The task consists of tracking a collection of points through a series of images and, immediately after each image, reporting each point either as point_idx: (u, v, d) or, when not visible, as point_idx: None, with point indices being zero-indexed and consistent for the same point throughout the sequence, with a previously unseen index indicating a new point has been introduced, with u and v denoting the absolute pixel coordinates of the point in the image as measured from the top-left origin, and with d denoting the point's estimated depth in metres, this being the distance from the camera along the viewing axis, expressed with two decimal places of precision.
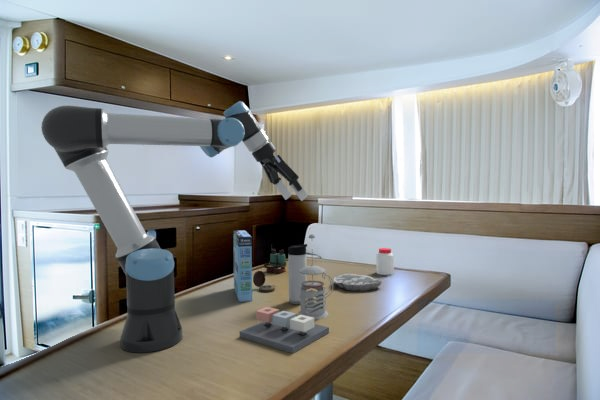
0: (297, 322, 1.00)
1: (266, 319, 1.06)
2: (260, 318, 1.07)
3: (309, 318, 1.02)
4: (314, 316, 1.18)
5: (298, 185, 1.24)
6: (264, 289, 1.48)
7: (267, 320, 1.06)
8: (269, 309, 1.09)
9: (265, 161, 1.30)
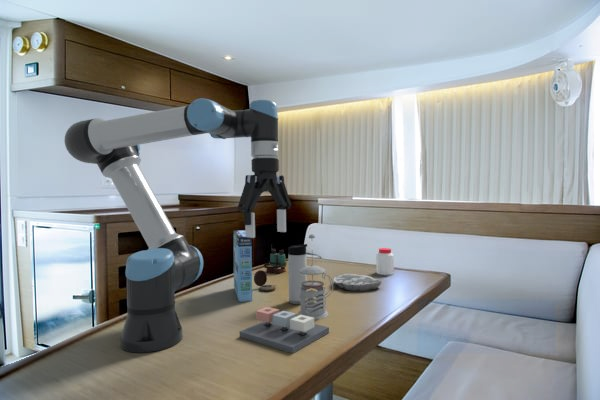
0: (297, 322, 1.00)
1: (266, 319, 1.06)
2: (260, 318, 1.07)
3: (309, 318, 1.02)
4: (314, 316, 1.18)
5: (246, 218, 1.02)
6: (264, 289, 1.49)
7: (267, 320, 1.06)
8: (269, 309, 1.09)
9: None
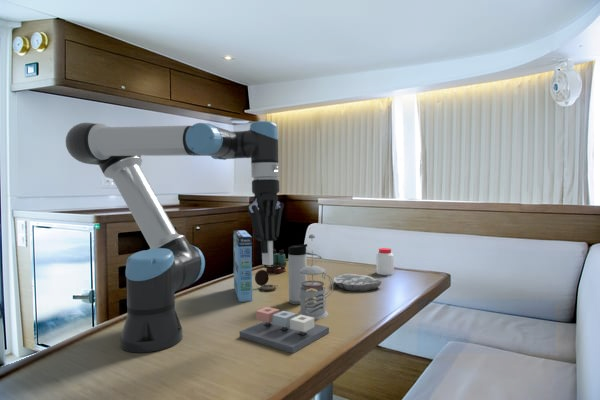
0: (297, 322, 1.00)
1: (266, 319, 1.06)
2: (260, 318, 1.07)
3: (309, 318, 1.02)
4: (314, 316, 1.18)
5: (263, 247, 1.06)
6: (264, 288, 1.49)
7: (267, 320, 1.06)
8: (269, 309, 1.09)
9: None
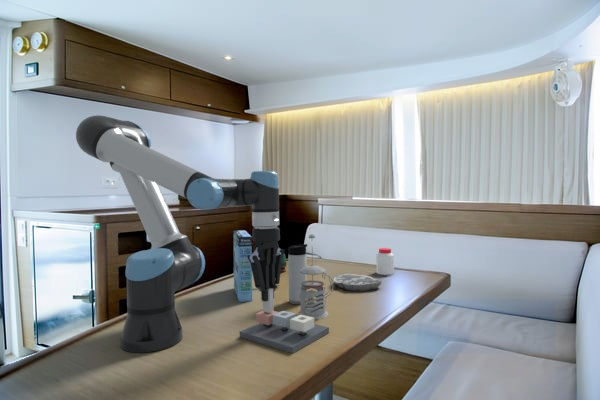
0: (297, 322, 1.00)
1: (266, 321, 1.06)
2: (260, 320, 1.07)
3: (309, 318, 1.02)
4: (314, 316, 1.18)
5: (263, 295, 1.07)
6: None
7: (267, 322, 1.06)
8: None
9: None
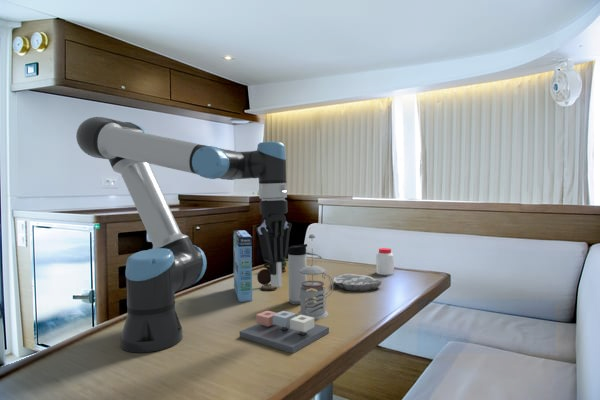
0: (297, 322, 1.00)
1: (266, 323, 1.06)
2: (260, 322, 1.07)
3: (309, 318, 1.02)
4: (314, 316, 1.18)
5: (272, 268, 1.05)
6: (264, 287, 1.51)
7: (267, 324, 1.06)
8: (269, 313, 1.09)
9: None
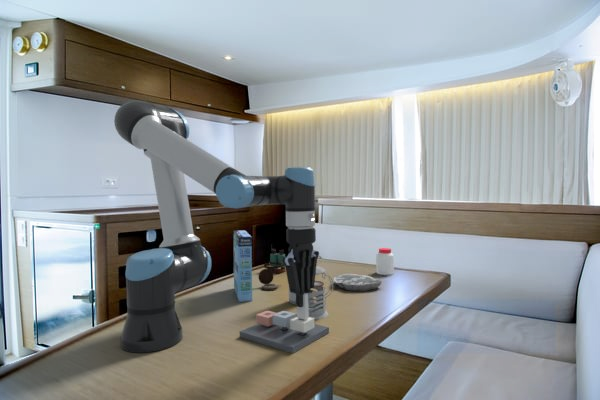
0: (297, 323, 1.00)
1: (266, 323, 1.06)
2: (260, 322, 1.07)
3: (309, 319, 1.02)
4: (314, 316, 1.18)
5: (298, 300, 1.00)
6: (264, 287, 1.51)
7: (267, 324, 1.06)
8: (269, 313, 1.09)
9: None
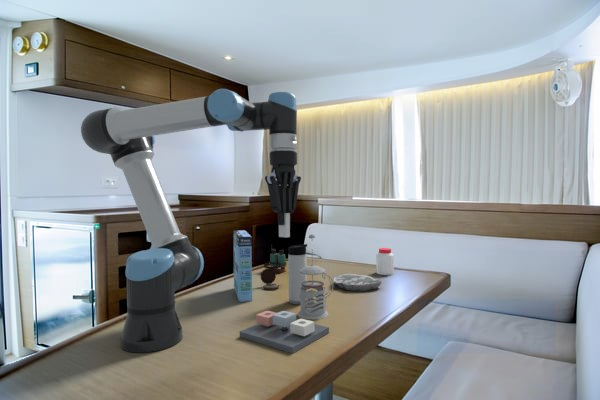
0: (297, 326, 1.00)
1: (266, 323, 1.06)
2: (260, 322, 1.07)
3: (309, 322, 1.02)
4: (314, 316, 1.18)
5: (280, 219, 1.06)
6: (265, 287, 1.52)
7: (267, 324, 1.06)
8: (269, 313, 1.09)
9: None
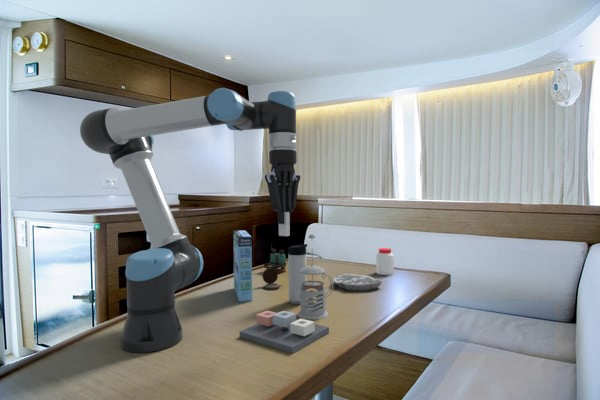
0: (297, 326, 1.00)
1: (266, 323, 1.06)
2: (260, 322, 1.07)
3: (309, 322, 1.02)
4: (314, 316, 1.18)
5: (280, 217, 1.06)
6: (266, 286, 1.52)
7: (267, 324, 1.06)
8: (269, 313, 1.09)
9: None
